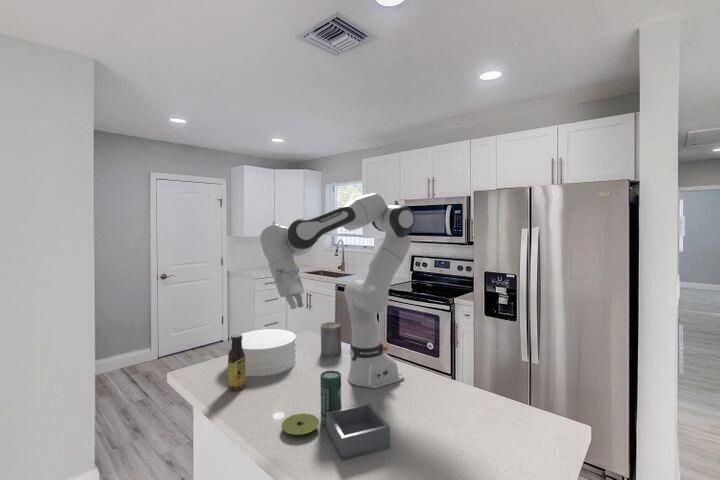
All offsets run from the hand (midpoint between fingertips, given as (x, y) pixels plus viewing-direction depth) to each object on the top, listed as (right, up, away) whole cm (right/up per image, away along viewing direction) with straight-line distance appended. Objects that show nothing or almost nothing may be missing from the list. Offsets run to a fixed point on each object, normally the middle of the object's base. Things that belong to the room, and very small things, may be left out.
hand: (298, 307), depth 121 cm
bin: (+20, -34, -19) cm, 44 cm away
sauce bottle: (-26, -33, +14) cm, 44 cm away
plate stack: (-22, -32, +38) cm, 54 cm away
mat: (+3, -34, -14) cm, 37 cm away
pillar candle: (+7, -31, +50) cm, 60 cm away
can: (+12, -34, -9) cm, 37 cm away
